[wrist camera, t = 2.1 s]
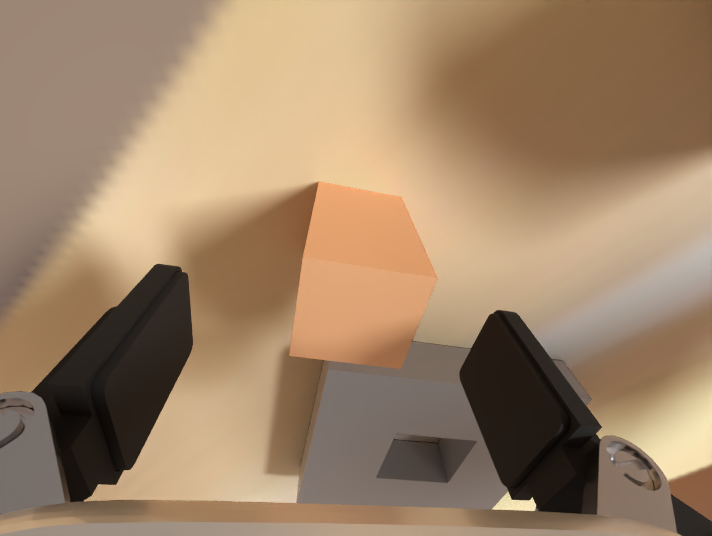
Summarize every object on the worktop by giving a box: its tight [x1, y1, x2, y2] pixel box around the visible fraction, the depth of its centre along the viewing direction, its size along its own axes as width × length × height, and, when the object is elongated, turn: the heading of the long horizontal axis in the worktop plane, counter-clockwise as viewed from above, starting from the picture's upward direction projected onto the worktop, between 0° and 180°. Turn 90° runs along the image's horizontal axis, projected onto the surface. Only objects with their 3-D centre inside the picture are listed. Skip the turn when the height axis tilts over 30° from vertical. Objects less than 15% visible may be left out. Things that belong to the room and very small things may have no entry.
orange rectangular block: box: [289, 182, 437, 369], centre depth 13 cm, size 4×4×7 cm
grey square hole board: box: [296, 341, 592, 510], centre depth 24 cm, size 16×16×3 cm
